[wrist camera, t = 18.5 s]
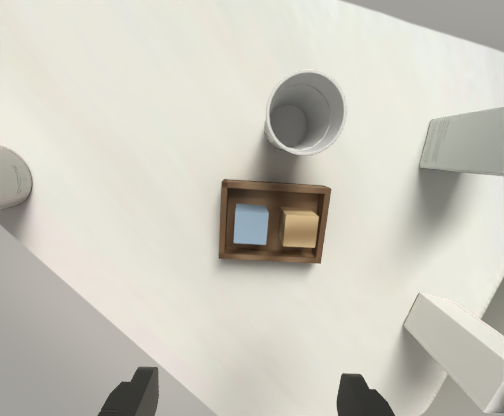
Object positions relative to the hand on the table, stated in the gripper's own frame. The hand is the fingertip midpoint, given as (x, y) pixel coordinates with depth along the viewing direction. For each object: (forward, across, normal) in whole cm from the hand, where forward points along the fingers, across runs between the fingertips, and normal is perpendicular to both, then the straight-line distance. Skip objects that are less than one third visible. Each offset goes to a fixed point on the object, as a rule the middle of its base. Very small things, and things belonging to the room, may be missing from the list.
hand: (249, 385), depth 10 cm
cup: (+28, -5, -14) cm, 32 cm away
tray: (+28, -4, 0) cm, 28 cm away
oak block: (+27, -8, 0) cm, 28 cm away
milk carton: (+28, -34, +16) cm, 47 cm away
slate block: (+27, -1, 0) cm, 27 cm away
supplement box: (+28, -30, -13) cm, 43 cm away
